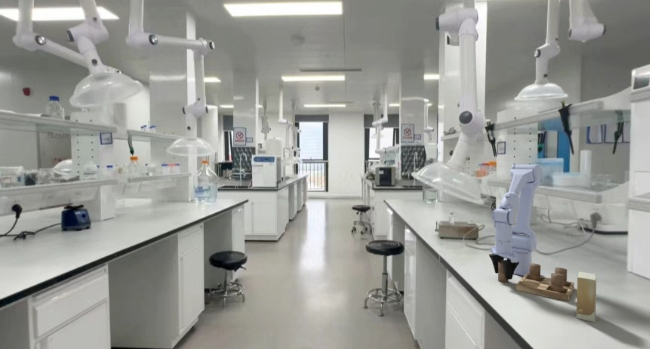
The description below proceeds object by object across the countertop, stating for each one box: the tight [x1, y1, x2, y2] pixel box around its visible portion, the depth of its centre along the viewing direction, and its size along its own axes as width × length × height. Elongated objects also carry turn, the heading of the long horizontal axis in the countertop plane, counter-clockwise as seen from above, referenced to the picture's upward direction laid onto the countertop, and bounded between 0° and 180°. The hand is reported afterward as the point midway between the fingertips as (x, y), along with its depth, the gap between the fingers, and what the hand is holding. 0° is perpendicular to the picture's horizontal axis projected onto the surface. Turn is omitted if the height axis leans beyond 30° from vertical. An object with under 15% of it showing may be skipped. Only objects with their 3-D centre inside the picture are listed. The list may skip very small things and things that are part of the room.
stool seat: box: [515, 262, 575, 302], centre depth 121 cm, size 15×15×7 cm
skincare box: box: [576, 271, 597, 323], centre depth 100 cm, size 6×4×12 cm
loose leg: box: [497, 261, 509, 284], centre depth 130 cm, size 4×4×7 cm
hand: (503, 276), depth 130 cm, fingers open, 6 cm apart
